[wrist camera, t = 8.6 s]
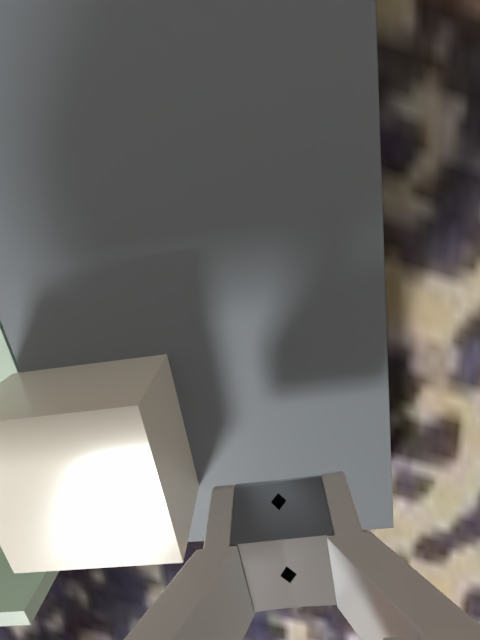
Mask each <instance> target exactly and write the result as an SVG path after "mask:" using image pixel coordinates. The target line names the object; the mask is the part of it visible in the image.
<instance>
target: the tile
mask: <svg viewBox="0 0 480 640" xmlns="http://www.w3.org/2000/svg"><path fill="white" fill-rule="evenodd" d="M198 490H199V483H198V479H197V475H196V471H195V467H194V462H193V458H192V454H191V450H190V446H189V442H188V438H187V434H186V430H185V426H184V422H183V418H182V414H181V410H180V405H179V401H178V397H177V393H176V389H175V385H174V381H173V377H172V373H171V369H170V365H169V361H168V357H167V354H164V355H156V356H148V357H140V358H132V359H124V360H116V361H108V362H100V363H92V364H84V365H76V366H68V367H60V368H52V369H44V370H36V371H28V372H20V373H12V374H11V375H10V376H8V377H7V378H6V379H5V380H3V381H2V382H1V383H0V546H1V548H2V550H3V552H4V554H5V556H6V558H7V560H8V562H9V564H10V566H11V568H12V570H13V572H14V573H30V572H45V571H61V570H77V569H93V568H108V567H124V566H140V565H156V564H171V563H183V561H184V556H185V552H186V547H187V542H188V537H189V533H190V528H191V523H192V518H193V514H194V509H195V504H196V499H197V495H198Z"/></svg>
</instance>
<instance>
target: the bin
mask: <svg viewBox="0 0 480 640" xmlns="http://www.w3.org/2000/svg"><path fill="white" fill-rule="evenodd" d="M12 373H20V369H19V366H18V364H17V361H16V359H15V356H14V354H13V351H12V349H11V346H10V344H9V341H8V338H7V336H6V333H5V331H4V328H3V326H2V323H1V321H0V383H1V382H2V381H3V380H5V379H6V378H7V377H8V376H10V375H11V374H12ZM58 572H59V571H45V572H30V573H14V572H13V570H12V568H11V566H10V564H9V562H8V560H7V558H6V556H5V554H4V552H3V550H2V548H1V546H0V626H17V625H31V624H32V622H33V620H34V618H35V616H36V614H37V612H38V610H39V609H40V607H41V605H42V603H43V601H44V599H45V597H46V595H47V593H48V591H49V590H50V588H51V586H52V584H53V582H54V580H55V578H56V576H57V574H58Z"/></svg>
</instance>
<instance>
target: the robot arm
mask: <svg viewBox="0 0 480 640" xmlns="http://www.w3.org/2000/svg"><path fill="white" fill-rule="evenodd" d="M322 605H337V607H338V609H339V610H340V611H341V613H342V614H343V615H344V617H345V618H346V619H347V621H348V622H349V623H350V625H351V626H352V627H353V629H354V630H355V631H356V633H357V634H358V635H359V637H360V638H361V639H362V640H480V625H479V624H478V623H477V622H476V621H474V620H473V619H472V618H471V617H470V616H469V615H467V614H466V613H465V612H464V611H463V610H462V609H460V608H459V607H458V606H457V605H456V604H455V603H453V602H452V601H451V600H450V599H449V598H447V597H446V596H445V595H444V594H443V593H442V592H440V591H439V590H438V589H437V588H436V587H435V586H433V585H432V584H431V583H430V582H429V581H428V580H426V579H425V578H424V577H423V576H422V575H421V574H419V573H418V572H417V571H416V570H415V569H413V568H412V567H411V566H410V565H409V564H408V563H406V562H405V561H404V560H403V559H402V558H401V557H399V556H398V555H397V554H396V553H395V552H394V551H392V550H391V549H390V548H389V547H388V546H387V545H385V544H384V543H383V542H382V541H381V540H379V539H378V538H377V537H376V536H375V535H374V534H372V533H371V532H364V533H363V530H362V527H361V524H360V520H359V517H358V514H357V511H356V508H355V504H354V501H353V498H352V495H351V492H350V488H349V485H348V482H347V479H346V475H345V473H344V472H343V471H339V472H332V473H325V474H321V475H312V476H304V477H297V478H289V479H281V480H273V481H262V482H252V483H241V484H236V485H225V486H214V488H213V490H212V493H211V500H210V506H209V513H208V520H207V526H206V533H205V540H204V546H203V549H201V550H196V551H195V552H194V554H193V555H192V556H191V557H190V558H189V560H188V561H187V562H186V563H185V565H184V566H183V567H182V568H181V570H180V571H179V572H178V573H177V574H176V576H175V577H174V578H173V579H172V581H171V582H170V583H169V584H168V586H167V587H166V588H165V589H164V590H163V592H162V593H161V594H160V595H159V597H158V598H157V599H156V600H155V602H154V603H153V604H152V605H151V606H150V608H149V609H148V610H147V611H146V613H145V614H144V615H143V616H142V617H141V619H140V620H139V621H138V622H137V624H136V625H135V626H134V627H133V629H132V630H131V631H130V632H129V633H128V635H127V636H126V637H125V638H124V640H243V638H244V636H245V634H246V631H247V629H248V627H249V625H250V623H251V621H252V619H253V617H254V612H257V611H265V610H274V609H282V608H290V607H304V606H322Z"/></svg>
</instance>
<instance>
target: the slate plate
mask: <svg viewBox="0 0 480 640" xmlns="http://www.w3.org/2000/svg"><path fill="white" fill-rule="evenodd" d="M0 321H1V323H2V326H3V328H4V331H5V333H6V336H7V338H8V341H9V344H10V346H11V349H12V351H13V354H14V356H15V359H16V361H17V364H18V366H19V369H20V372H28V371H36V370H44V369H52V368H60V367H68V366H76V365H84V364H92V363H100V362H108V361H116V360H124V359H132V358H140V357H148V356H156V355H164V354H167V357H168V361H169V365H170V369H171V373H172V377H173V381H174V385H175V389H176V393H177V397H178V401H179V405H180V410H181V414H182V418H183V422H184V426H185V430H186V434H187V438H188V442H189V446H190V450H191V454H192V458H193V462H194V467H195V471H196V475H197V479H198V483H199V490H198V495H197V499H196V504H195V509H194V514H193V518H192V523H191V528H190V533H189V537H188V542H195V541H204V540H205V533H206V526H207V520H208V513H209V506H210V500H211V493H212V490H213V488H214V486H225V485H236V484H241V483H252V482H262V481H273V480H281V479H289V478H297V477H304V476H312V475H321V474H325V473H332V472H339V471H343V472H344V473H345V475H346V479H347V482H348V485H349V488H350V492H351V495H352V498H353V501H354V504H355V508H356V511H357V514H358V517H359V520H360V524H361V527H362V530H368V529H382V528H393V500H392V471H391V441H390V411H389V382H388V352H387V322H386V293H385V263H384V233H383V204H382V174H381V144H380V115H379V85H378V55H377V26H376V0H0Z"/></svg>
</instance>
